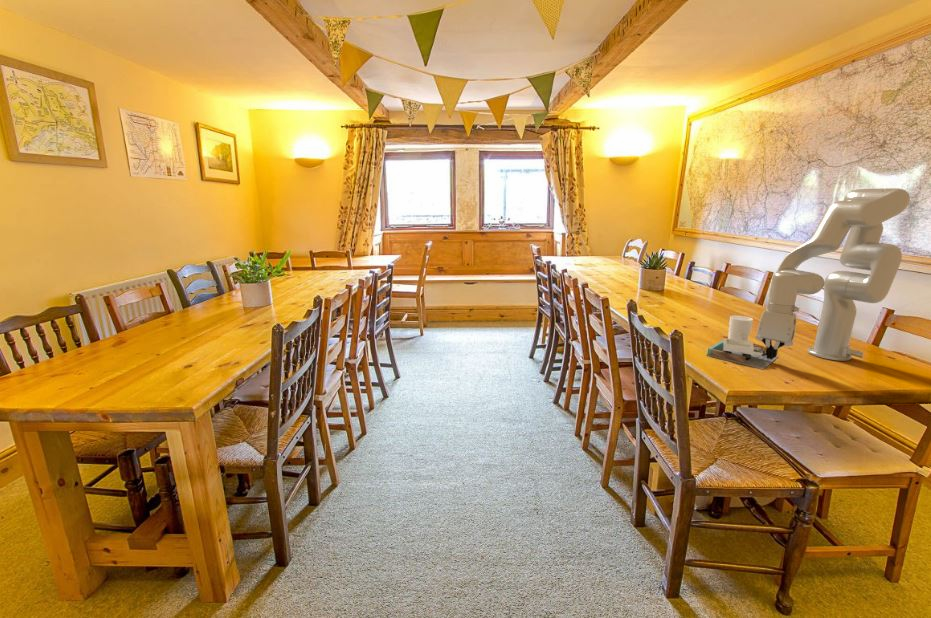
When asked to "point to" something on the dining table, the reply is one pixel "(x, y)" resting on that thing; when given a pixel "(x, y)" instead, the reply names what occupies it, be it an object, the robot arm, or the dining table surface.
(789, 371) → the dining table surface
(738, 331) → the white cup
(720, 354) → the dock
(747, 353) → the trolley
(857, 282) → the robot arm
